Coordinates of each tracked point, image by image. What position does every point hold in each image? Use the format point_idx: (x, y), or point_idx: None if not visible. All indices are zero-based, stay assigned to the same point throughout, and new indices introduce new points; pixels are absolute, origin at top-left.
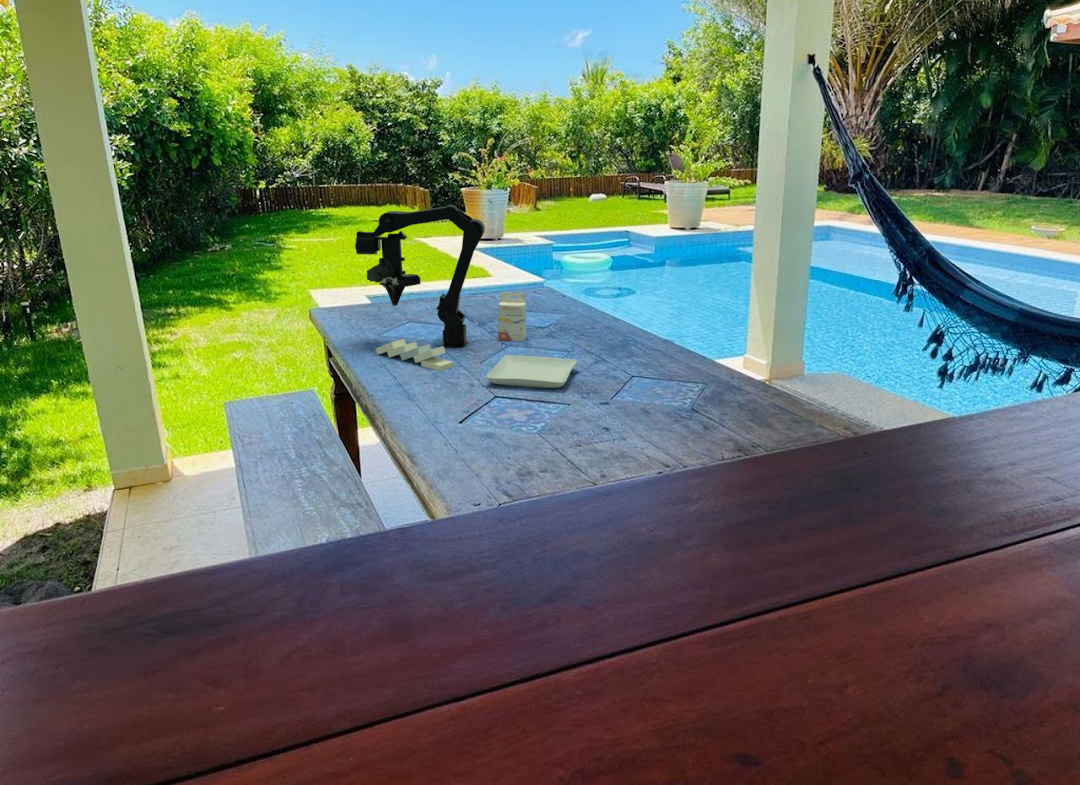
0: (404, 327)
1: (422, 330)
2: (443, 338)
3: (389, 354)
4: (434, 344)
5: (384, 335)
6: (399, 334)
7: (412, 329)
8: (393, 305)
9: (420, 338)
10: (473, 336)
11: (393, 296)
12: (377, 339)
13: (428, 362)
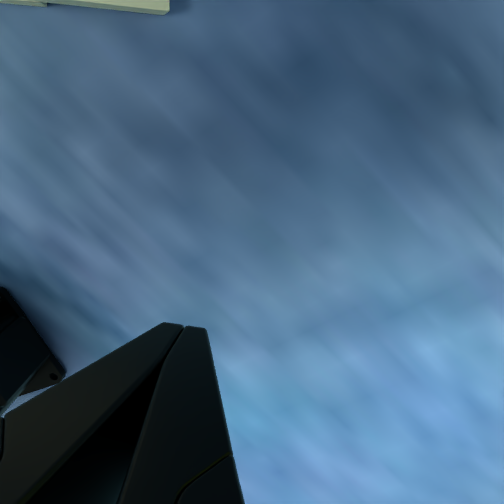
0: (495, 493)
1: (356, 482)
2: (1, 331)
3: None
4: (84, 302)
5: (499, 319)
6: (421, 376)
7: (422, 479)
8: (195, 328)
9: (245, 362)
10: None
11: (47, 411)
12: (480, 220)
13: None
